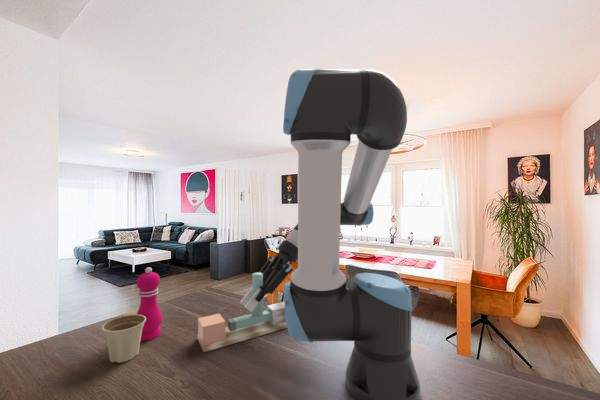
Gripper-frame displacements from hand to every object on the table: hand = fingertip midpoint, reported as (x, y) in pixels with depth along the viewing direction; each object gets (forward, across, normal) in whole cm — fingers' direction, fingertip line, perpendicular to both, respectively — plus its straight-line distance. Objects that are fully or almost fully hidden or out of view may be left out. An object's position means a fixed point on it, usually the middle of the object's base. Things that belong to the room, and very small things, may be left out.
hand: (245, 307), depth 80 cm
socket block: (+12, 0, +2) cm, 12 cm away
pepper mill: (+23, +13, +12) cm, 29 cm away
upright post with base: (0, 0, -8) cm, 8 cm away
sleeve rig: (+4, 0, -7) cm, 8 cm away
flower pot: (+27, +5, +16) cm, 32 cm away
